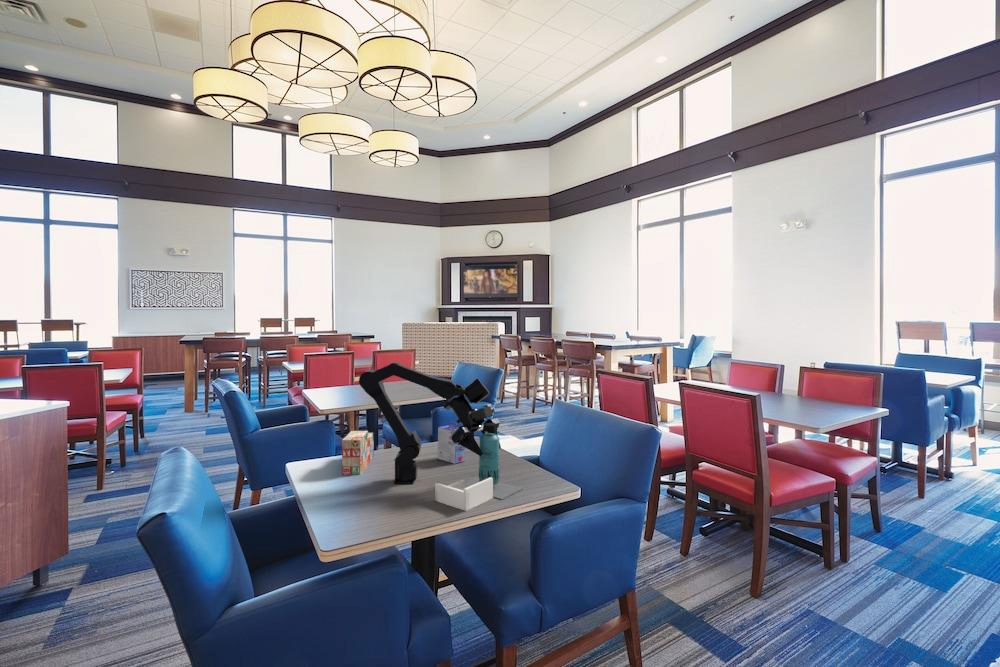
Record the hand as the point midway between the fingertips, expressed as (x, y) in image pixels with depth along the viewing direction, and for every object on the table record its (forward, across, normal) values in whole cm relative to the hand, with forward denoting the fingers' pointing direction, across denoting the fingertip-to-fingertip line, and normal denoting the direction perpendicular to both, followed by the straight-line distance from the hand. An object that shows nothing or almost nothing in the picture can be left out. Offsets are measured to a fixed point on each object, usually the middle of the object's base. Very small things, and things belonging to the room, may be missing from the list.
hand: (490, 451), depth 147 cm
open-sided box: (+8, -12, +8) cm, 17 cm away
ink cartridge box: (-13, +14, +29) cm, 35 cm away
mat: (+8, 0, +8) cm, 12 cm away
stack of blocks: (-28, -11, +45) cm, 55 cm away
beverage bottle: (+8, 0, +8) cm, 11 cm away
